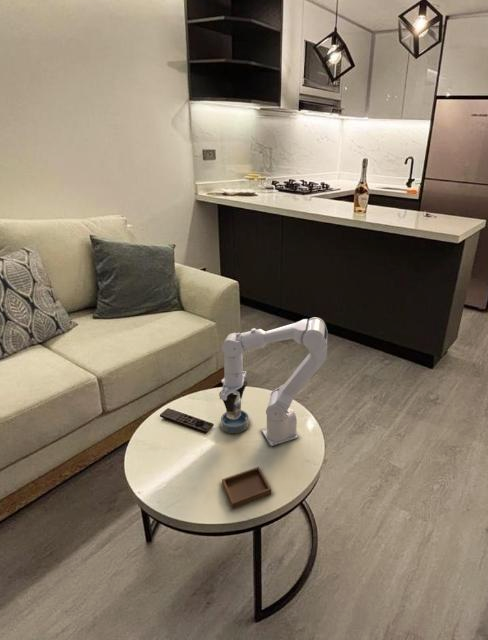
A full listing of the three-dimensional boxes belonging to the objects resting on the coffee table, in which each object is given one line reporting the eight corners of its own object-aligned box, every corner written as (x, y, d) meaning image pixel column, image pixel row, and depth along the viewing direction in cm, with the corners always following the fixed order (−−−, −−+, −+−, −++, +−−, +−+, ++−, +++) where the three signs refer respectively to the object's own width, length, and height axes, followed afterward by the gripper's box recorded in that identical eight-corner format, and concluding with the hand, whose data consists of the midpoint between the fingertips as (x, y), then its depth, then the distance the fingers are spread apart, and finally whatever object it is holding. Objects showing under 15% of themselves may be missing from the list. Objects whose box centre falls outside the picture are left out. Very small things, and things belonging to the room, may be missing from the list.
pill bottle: (237, 421, 131) (237, 399, 128) (224, 418, 132) (223, 396, 129) (243, 412, 135) (243, 391, 132) (229, 409, 136) (229, 388, 133)
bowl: (243, 413, 145) (243, 406, 144) (252, 429, 138) (252, 422, 136) (218, 420, 141) (217, 413, 140) (226, 437, 134) (225, 430, 132)
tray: (258, 471, 121) (258, 466, 120) (271, 494, 113) (271, 489, 112) (222, 484, 116) (221, 479, 115) (232, 509, 108) (232, 503, 107)
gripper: (232, 356, 135) (232, 391, 140) (210, 379, 122) (211, 416, 127) (252, 361, 133) (251, 396, 138) (231, 384, 120) (231, 421, 125)
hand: (233, 406), depth 132 cm, fingers closed on pill bottle, 5 cm apart
